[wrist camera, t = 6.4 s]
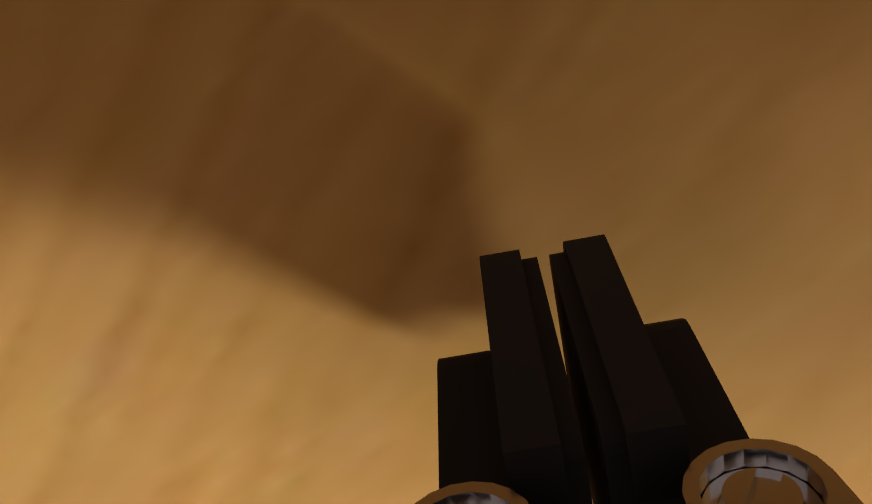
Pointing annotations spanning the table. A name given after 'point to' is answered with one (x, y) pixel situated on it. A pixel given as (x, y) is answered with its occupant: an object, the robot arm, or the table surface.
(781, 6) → the table surface
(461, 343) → the table surface
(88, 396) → the table surface
